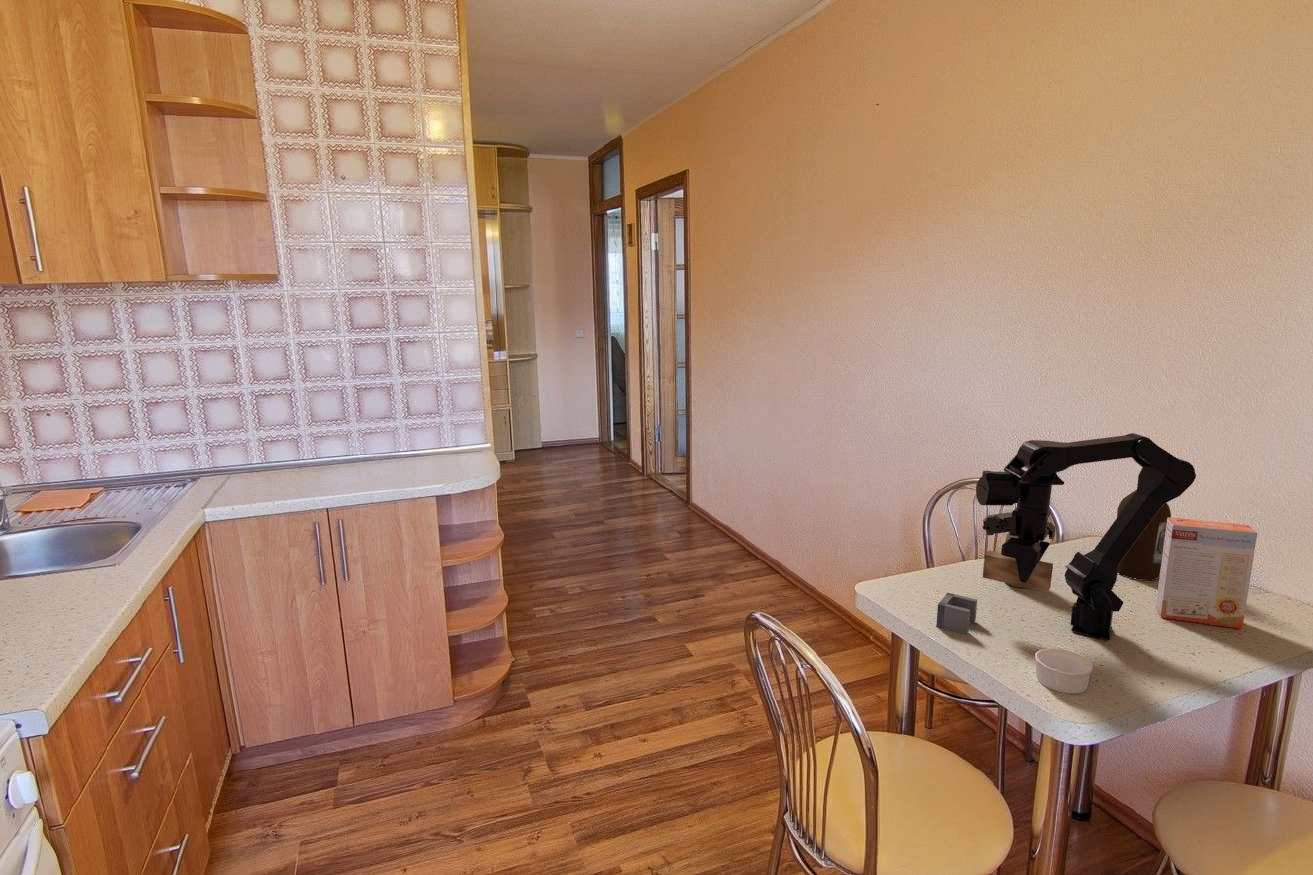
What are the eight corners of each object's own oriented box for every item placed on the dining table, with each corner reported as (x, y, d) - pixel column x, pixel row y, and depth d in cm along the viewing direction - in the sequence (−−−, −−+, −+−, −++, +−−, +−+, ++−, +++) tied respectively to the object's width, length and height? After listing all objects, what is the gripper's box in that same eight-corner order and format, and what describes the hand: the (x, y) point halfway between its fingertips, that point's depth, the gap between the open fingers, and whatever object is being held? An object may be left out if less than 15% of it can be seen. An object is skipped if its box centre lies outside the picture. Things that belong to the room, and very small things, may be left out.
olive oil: (1104, 573, 172) (1117, 474, 167) (1116, 561, 179) (1128, 465, 174) (1156, 585, 165) (1171, 482, 160) (1166, 572, 172) (1181, 473, 167)
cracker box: (1233, 618, 148) (1249, 523, 144) (1242, 630, 143) (1259, 532, 139) (1153, 606, 154) (1166, 515, 150) (1159, 618, 149) (1173, 523, 144)
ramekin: (1066, 701, 120) (1069, 678, 119) (1021, 675, 128) (1023, 654, 127) (1101, 689, 123) (1104, 666, 122) (1055, 665, 131) (1058, 643, 130)
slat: (1050, 587, 141) (1053, 563, 140) (1047, 592, 139) (1050, 568, 138) (986, 572, 148) (988, 550, 147) (982, 577, 146) (984, 554, 145)
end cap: (975, 621, 148) (977, 599, 147) (966, 634, 143) (968, 611, 142) (945, 614, 152) (947, 592, 151) (936, 626, 146) (937, 604, 145)
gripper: (1000, 487, 151) (994, 556, 154) (976, 509, 137) (969, 584, 140) (1059, 496, 144) (1051, 568, 147) (1040, 520, 130) (1031, 599, 133)
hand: (1025, 579), depth 142 cm, fingers closed on slat, 3 cm apart
